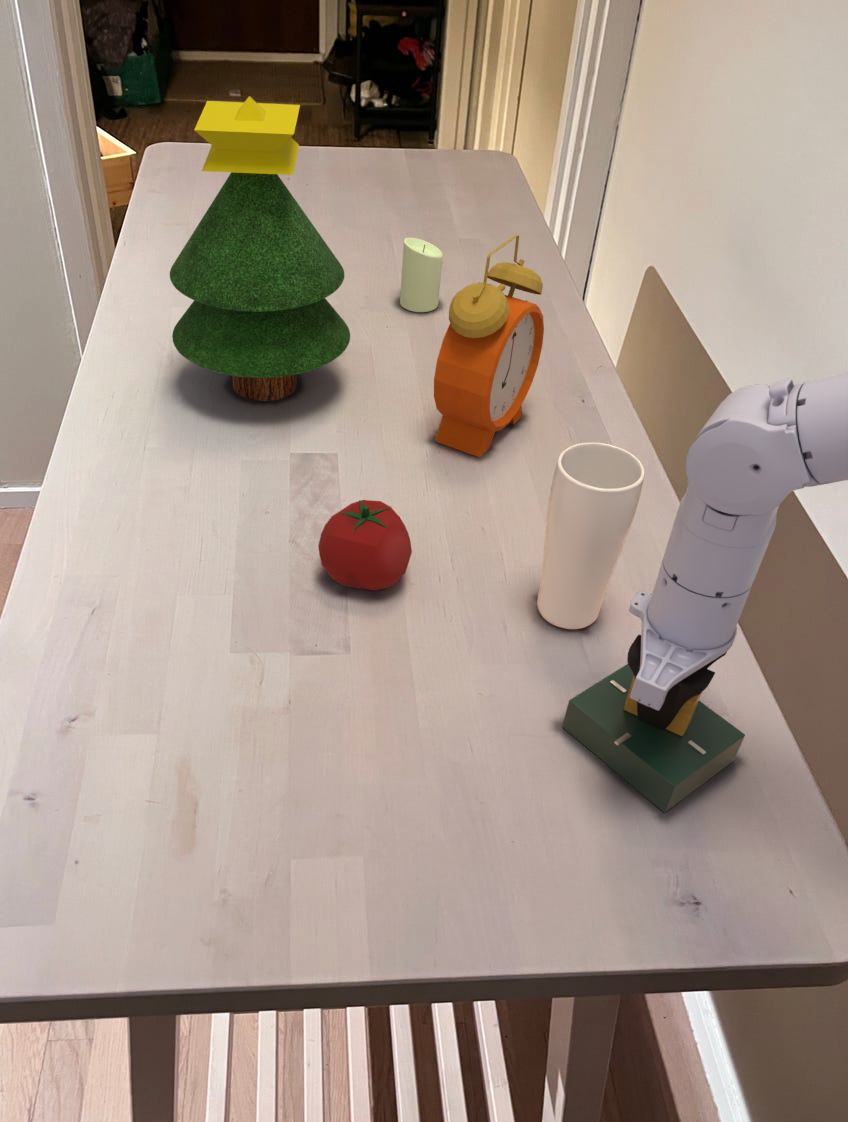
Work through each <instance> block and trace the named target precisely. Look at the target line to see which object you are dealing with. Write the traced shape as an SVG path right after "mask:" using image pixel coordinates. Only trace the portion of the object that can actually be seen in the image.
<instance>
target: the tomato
mask: <svg viewBox="0 0 848 1122" xmlns="http://www.w3.org/2000/svg"><path fill="white" fill-rule="evenodd" d="M411 543H412V542H411V538H410V535H409V531H408V529H407V526H406V525H405V523H404V521H403V520H402V518H401V517H400V515H399V514H397V512H396V511H395V510H394V509H393V507H392V506H390V505H388V504H387V503H385V502H383V501H382V500H372V499H371V500H370V499H359V500H358V501H355V502H352V503H349V504H348V505H347V506H346V507H343V509H341V510H339V511H338V512H335V514H333V515H332V516H331V517H329V519H328V521H327V522H326V523H325V524H324V526H323V528H322V531H321V533H320V537H319V541H318V545H317V546H318V555H319V559H320V562H321V567H322V568H323V569H324V570H325V571H326V572H327V574H328V575H329V576H330V578H331V579H332V580H333V581H335V582H336V583H338V584H340V585H342V586H344V587H349V588H356V589H363V590H368V591H370V590H371V591H378V590H383V589H384V590H385V589H387V588H390V587H392V586H394V585H395V584H396V583H397V582H398V581H399V580H400V579H401V578H403V576H404V575H405V574H406V572H407V570H408V567H409V563H410V559H411V557H412V554H413V552H412V551H413V550H412V544H411Z"/></svg>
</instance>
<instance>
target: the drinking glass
mask: <svg viewBox="0 0 848 1122" xmlns="http://www.w3.org/2000/svg"><path fill="white" fill-rule="evenodd" d="M644 467H645V466H644V465H643V463H642V462H641V460H640V459H639V458H637V457H636V456H635V455H634V454H632V453H631V452H629V450H626V449H624V448H622V447H619V446H616V445H613V444H608V443H603V442H581V443H577V444H572V445H570V446H569V447H567V448H565V449H564V450H563V451H562V452H561V453H560V454H559V456H558V457H557V461H556V464H555V468H554V473H553V476H552V481H551V486H550V491H549V496H548V504H547V511H546V520H545V521H546V522H545V531H544V543H543V554H542V564H541V566H542V567H541V574H540V584H539V588H538V589H539V590H538V594H537V598H536V599H537V600H536V602H537V603H536V604H537V605H536V606H537V611H538V612H539V614H540V615H541V617H542V618H543V619H544V620H545V621H546V622H548V623H549V624H551V625H553V626H555V627H558V628H561V629H566V630H579V629H584V628H587V627H589V626H591V625H592V624H593V623H594V622H595V621H596V620H597V619H598V617H599V616H600V612H601V608H602V604H603V602H604V598H605V595H606V594H607V590H608V588H609V584H610V582H611V580H612V577H613V574H614V572H615V569H616V566H617V564H618V561H619V559H620V556H621V553H622V551H623V548H624V546H625V544H626V541H627V539H628V536H629V532H630V530H631V528H632V525H633V523H634V520H635V516H636V513H637V509H638V505H639V503H640V499H641V494H642V490H643V485H644V480H645V474H646V473H645V472H646V471H645V468H644Z"/></svg>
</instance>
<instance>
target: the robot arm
mask: <svg viewBox="0 0 848 1122" xmlns="http://www.w3.org/2000/svg"><path fill="white" fill-rule="evenodd" d="M685 473H686V478H687V486H686V488H687V489H686V491H685V492H684V495H683V496H682V497H681V499H680V502H679V505H678V507H677V508H678V509H677V511H676V515H675V518H674V520H673V521H674V522H673V524H672V527H671V530H670V534H669V537H668V541H667V544H666V548H665V551H664V554H663V557H662V560H661V564H660V567H659V572H658V573H657V577H656V580H655V584H654V588H653V590H652V593H650V592H648V591H644V590H640V591H638V592H636V594H635V595H634V596H633V598H632V600H630V603H629V607H628V612H629V614H632V615H633V616H635V617H637V618H639V619H640V621H641V631H640V633H641V634H638V635H636V637H635V639H634V640H633V642H632V643H631V645H630V646H629V649H628V652H627V660H626V662H627V664H628V665H629V666H630V668H631V670H632V672H633V674H634V677H635V682H634V685H633V688H632V691H631V694H630V698H631V699H633V700H635V701H637V714H638V719H639V720H641V721H643V722H645V723H647V724H649V725H652V726H654V727H656V728H658V729H660V730H665V729H666V728H667V727H668V726H669V725H670V723H671V722H672V721H673V719H674V718H675V716H676V715H677V713H678V712H679V710H680V709H681V707H682V706H683V705H684V704H685V703H686V702H687V701H688V700H689V699H691V698H692V697H694V696H697V695H699V694H700V693H703V692H704V691H705V690H706V689H707V688H708V686H709V685H710V684H711V683H712V682H711V681H713V678H714V676H715V674H716V672H715V671H713V670H711V669H708V668H710V667H711V666H712V665H713V664H714V663H716V662H717V661H718V660H720V659H721V658H723V657H724V656H726V655H727V652H728V651H729V650H730V649H731V648H732V646H733V644H734V642H735V639H736V636H737V633H738V623H739V620H740V619H741V616H742V613H743V610H744V608H745V605H746V603H747V601H748V598H749V596H750V592H751V590H752V587H753V586H754V583H755V580H756V577H757V575H758V572H759V569H760V567H761V565H762V562H763V560H764V558H765V554H766V552H767V550H768V546H769V545H770V543H771V540H772V537H773V534H774V532H775V529H776V526H777V513H778V510H779V507H780V505H781V504H782V503H783V502H784V501H785V499H786V498H787V497H788V495H789V494H791V493H792V492H794V491H796V490H801V489H805V488H810V487H811V488H813V487H818V486H823V485H828V484H829V485H830V484H835V483H840V482H845V481H848V371H844V372H840V373H836V374H833V375H827V376H824V377H820V378H815V379H813V380H809V381H804V382H800V383H797V384H795V382H794V379H793V378H791V377H790V378H786V379H782V380H777V381H775V382H773V384H772V385H771V384H764V383H762V384H761V383H760V384H759V383H757V384H750V385H745V386H742V387H740V388H738V389H736V390H734V391H732V392H731V393H729V394H728V395H727V396H726V397H725V399H723V400H722V401H721V402H720V403H719V405H718V406H717V408H716V409H715V410H714V412H713V413H712V415H711V416H710V417H709V419H708V420H707V421H706V422H705V424H704V426H703V427H702V428H701V429H700V431H699V432H698V433H697V435H696V437H694V439H693V441H692V443H691V445H690V448H689V450H688V452H687V455H686V458H685Z"/></svg>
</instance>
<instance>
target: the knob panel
mask: <svg viewBox="0 0 848 1122" xmlns="http://www.w3.org/2000/svg"><path fill="white" fill-rule="evenodd" d="M633 677H634V674H633V672H632V670H631V668H630V666H629V665H628V663H627V664H624V665H623V666H622V667H620V668H618V669H617V670H615V671H613V672H612V673H611V674H609V675H607V676H605V677H604V678H602V679H601V680H599V681H597V682H596V683H594V684H592V685H591V686H590V687H588V688H587V689H585V690H583V691H582V692H580V693H578V694H577V695H575V696H573V697H572V698H570V699H569V700H568V702H567V705H566V709H565V710H566V711H565V714H564V719H563V723H562V726H561V727H562V728H563V729H564V730H565V731H567V732H568V733H569V734H570V735H571V736H572V737H574V738H575V739H576V740H577V741H578V742H579V743H581V744H582V745H583V746H584V747H585V748H586V749H588V750H589V751H590V752H591V753H592V754H594V756H596V757H598V758H599V760H601V761H602V762H603V763H604V764H606V766H608V767H609V768H611V769H612V770H613V771H614V772H615V773H616V774H618V775H619V776H620V777H621V778H622V779H623V780H624V781H626V782H627V783H628V784H630V785H631V786H632V787H633V788H634V789H635V790H637V791H638V792H639V793H640V794H641V795H643V796H644V797H645V798H646V799H647V800H648V801H650V802H651V803H652V804H653V805H654V806H656V807H657V808H658V809H659V810H660V811H661V812H663V813H666V812H668V811H669V810H671V809H672V808H673V807H675V806H676V805H677V804H678V803H680V802H681V801H683V800H684V799H685V798H686V797H688V796H689V795H690V794H692V793H693V792H694V791H696V790H697V789H699V787H701V786H702V785H704V784H705V783H707V782H708V781H709V780H710V779H712V778H713V777H714V776H717V774H718V773H720V772H721V771H723V770H724V769H725V768H726V767H727V766H729V765H730V764H732V763H733V762H734V760H735V758H736V757H737V755H738V752H739V750H740V748H741V746H742V743H743V741H744V738H745V736H746V734H745V733H744V732H742V731H741V730H740V729H738V728H737V727H735V726H734V725H733V724H732V723H730V722H729V721H728V720H726V719H725V718H723V717H722V716H721V715H720V714H718V713H717V712H715V711H714V710H713V709H712V708H710V707H709V706H707V705H706V704H705V703H703V702H702V701H700V700H699V701H698V704H697V707H696V709H695V712H694V714H693V717H692V720H691V722H690V724H689V726H688V728H687V730H686V732H685V733H684V735H683V736H680V735H678V734H676V733H673V732H671V731H669V730H667V729H665V730H660V729H658V728H656V727H654V726H652V725H649V724H647V723H645V722H643V721H641V720H639V719H638V716H636V715H634V714H632V713H630V712H627V711H625V710H624V705H625V702H626V699H627V696H628V693H629V689H630V686H631V683H632V680H633Z"/></svg>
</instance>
